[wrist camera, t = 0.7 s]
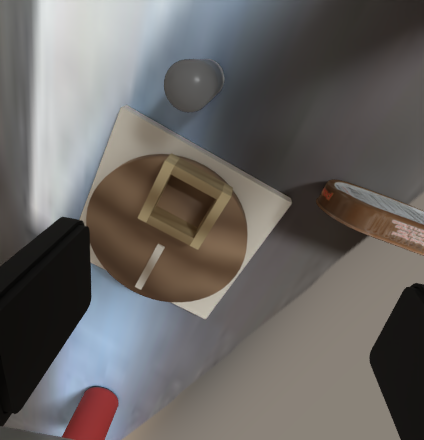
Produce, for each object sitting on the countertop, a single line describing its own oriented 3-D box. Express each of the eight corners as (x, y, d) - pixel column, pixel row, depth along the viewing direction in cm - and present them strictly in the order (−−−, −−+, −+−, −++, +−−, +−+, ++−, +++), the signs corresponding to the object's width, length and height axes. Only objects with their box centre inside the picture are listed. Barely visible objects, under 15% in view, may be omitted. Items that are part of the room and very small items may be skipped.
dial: (125, 120, 33) (108, 128, 29) (280, 206, 36) (282, 225, 32) (75, 250, 42) (56, 270, 38) (202, 313, 44) (196, 338, 40)
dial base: (126, 104, 34) (120, 107, 33) (290, 198, 37) (292, 204, 35) (73, 245, 44) (66, 252, 42) (206, 312, 46) (205, 320, 45)
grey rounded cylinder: (199, 51, 31) (176, 49, 22) (231, 70, 32) (221, 76, 23) (183, 86, 33) (156, 97, 24) (214, 104, 33) (198, 121, 24)
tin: (309, 191, 36) (322, 225, 29) (322, 166, 35) (340, 196, 27) (429, 236, 37) (473, 281, 29) (447, 213, 35) (498, 254, 28)
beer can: (125, 395, 58) (96, 471, 47) (111, 412, 61) (80, 486, 50) (93, 379, 57) (55, 453, 46) (80, 397, 60) (42, 469, 49)
